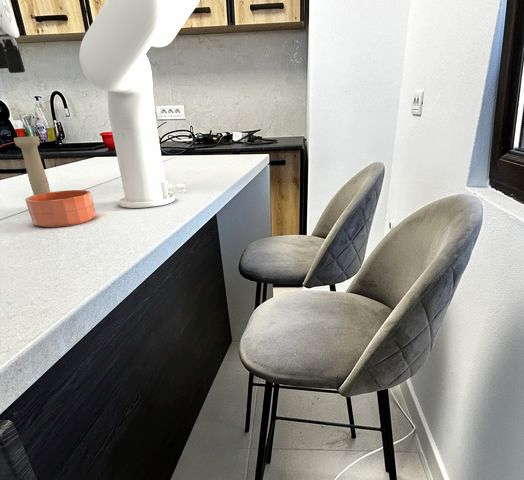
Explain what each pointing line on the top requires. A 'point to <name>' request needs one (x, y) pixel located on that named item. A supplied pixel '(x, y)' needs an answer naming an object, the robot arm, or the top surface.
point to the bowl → (61, 208)
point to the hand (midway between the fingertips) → (9, 70)
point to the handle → (33, 164)
